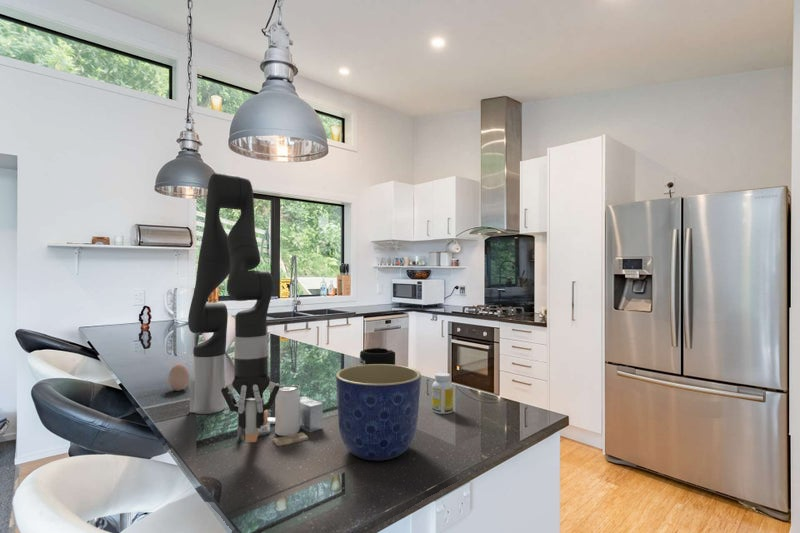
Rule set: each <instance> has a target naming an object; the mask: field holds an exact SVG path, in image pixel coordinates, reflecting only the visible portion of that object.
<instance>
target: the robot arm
mask: <svg viewBox="0 0 800 533" xmlns="http://www.w3.org/2000/svg"><path fill="white" fill-rule="evenodd" d="M207 183H208V184H207V191H206V204H205V215H204V217H205V218H204V226H203V231H202V238H201V243H200V248H199V255H198V260H197V269H196V279H195V285H194V290H193V295H192V298H191V302H190V307H189V311H188V317H187V318H188V319H187V324H188V326H187V327H188V329H189V331H190V332H191V333H193V334H209V333H213V334H212V335H211V336H210V337H209V338H208V339H207V340H205V341H203V342H201V343H198V344H196V345H195V346H194V347H193V357H192V358H193V359H192V360H193V366H192V368H193V371H192V372H193V373H192V374H193V375H192V380H191V379H190V380H189V413H193V414H199V415H207V414H208V415H209V414H215V413H218V412H221V411H223V410H224V409H225V408H226V406H225V405H226V404H227V407H228V409H229V410H230V412H236V413H237V414H238V416H237V418H238V417H239V427H241V429H243V430H245V405H246V400H247V399H255V401H256V404H257V409H258V412H257V428H261V426H262V425H263V423H264V411H265V410H270V409H271V408H272V406H273V404H274V402H275V398H276V395H277V393H278V391H279V388H280V386H282V385H281V383H279V382H277V383H275V382H273V381H271V379H270V376H269V345H268V337H267V334H268V333H267V332H268V331H267V326H268V325H267V324H268V323H267V319H268V318H267V317H268V311H269V307H270V304H271V300H272V299H271V298H272V296H273V292H274V288H275V279H274V277H273V275H272V273H270V271H268V270H263V269H260V270H259V269H258V270H254V269H256V268H258V266H259V265H260V264H261V254H260V250H259V249H260V248H259V245H258V241H257V236H256V230H255V229H256V228H255V227H256V224H255V220H256V219H255V204H254V203H255V202H254V200H255V199H254V190H253V185H252V182H251V180H250V179H249V178H248V177H244V176H240V175H233V174H227V173H219V172H215V173H212V174H211V175H210V177H209V180H208V182H207ZM221 209H229V210H235V211H236V210H238V211H240V216H239V217H238V219H237V221H236V222H234V225H233V226H232V228H230V231H229V233H228V234H227V231H225V228H224V226H223V224H222V221H221V218H220V210H221ZM226 279H227V283H226V292H227V295H228V296H229V297H230V298H231V299H233V300H234V301H240V302H241V301H256V302H255V304H254V305H253V306H252V307H251V308H248V309H243V310H241V311H238V312H236V314H235V317H234V318H235V320H234V322H235V323H234V325H235V328H234V333H235V339H234V345H233V347H234V353H233V354H234V355H233V356H234V358H233V359H234V361H233V363H234V364H233V367H234V370H233V371H234V378H233V381H232V382H231V383H230V384H228V385H227V384H226V354H227V353H226V350H227V334H228V332H227V331H228V317H229V316H228V308H227V305H226V304H225V303H223V302H208V300H209V298H210V296H211V295H212V293H213V292H214V291H215V290H216V289H217V288H218V287H219V286H220V285H221V284H222V283H223V282H224V281H225V280H226ZM268 387H269V392H270V395H269V398H268V400H267V402H266V403H265V401H264V399H265V398H264V393H265V391H266V389H267V388H268ZM234 390H235V391H236V393H238V395H239V399H238V400H239V401H238V403H237V400H236V399H235V396H234V394H233V393H234Z"/></svg>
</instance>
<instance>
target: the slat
mask: <svg viewBox="0 0 800 533" xmlns="http://www.w3.org/2000/svg"><path fill="white" fill-rule="evenodd" d="M307 440H309V436H308V435H306V434H305V433H304V432H298V433H297V434H293V435H288V436H279V437H275V438H272V442H273V444H275V446H277V447H281V446H285V445H290V444H293V443H298V442H303V441H307Z"/></svg>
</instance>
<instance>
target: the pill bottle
mask: <svg viewBox="0 0 800 533" xmlns="http://www.w3.org/2000/svg"><path fill="white" fill-rule="evenodd" d="M434 374H435V375H434V378H435V381H434V382H432V384H431V385H432V386H431V387H432V389H431V393H432V394H431V395H432V396H431V400H432V402H431V403H432V404H431V406H432V407H431V409H432V411H433V412H434V413H436V414H439V415H448V414H451V413H453V411H454V384H453V383H452V381H450V380H451V374H450V373H447V372H436V373H434Z"/></svg>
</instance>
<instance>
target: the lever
mask: <svg viewBox="0 0 800 533" xmlns="http://www.w3.org/2000/svg"><path fill="white" fill-rule="evenodd" d="M257 412H258V409H257V404H256V401H255V398H248V399H247V400H246V405H245V429H244V432H245V433H246V434H245V436H244V437H245V439H244V440H245V443H246V444H247V443H257V440H258V437H259V436H258V433H259V430H260V428H257ZM268 413H269V411H268V410H265V411H264V423H263V425H264V424H266V423H267V422H268V416H269V414H268Z"/></svg>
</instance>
